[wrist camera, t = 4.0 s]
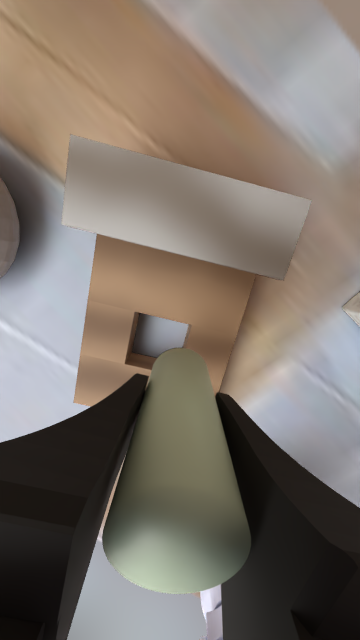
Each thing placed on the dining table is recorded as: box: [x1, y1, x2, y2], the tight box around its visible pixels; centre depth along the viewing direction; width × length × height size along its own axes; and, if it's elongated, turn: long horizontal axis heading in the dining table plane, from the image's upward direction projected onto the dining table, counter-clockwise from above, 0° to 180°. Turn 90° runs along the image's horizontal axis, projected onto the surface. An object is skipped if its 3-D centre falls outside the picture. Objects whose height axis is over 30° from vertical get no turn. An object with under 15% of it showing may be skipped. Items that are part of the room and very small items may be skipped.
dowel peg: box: [102, 348, 251, 594], centre depth 9 cm, size 3×3×8 cm
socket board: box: [61, 134, 312, 406], centre depth 15 cm, size 18×12×7 cm, turn 166°
